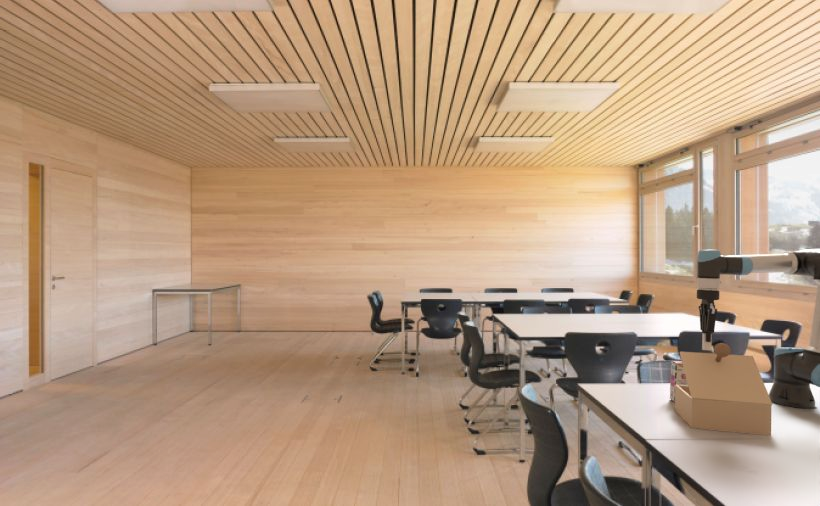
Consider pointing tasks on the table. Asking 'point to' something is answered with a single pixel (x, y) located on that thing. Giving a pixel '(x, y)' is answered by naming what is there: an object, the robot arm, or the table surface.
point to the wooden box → (722, 414)
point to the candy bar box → (677, 377)
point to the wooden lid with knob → (724, 377)
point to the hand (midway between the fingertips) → (706, 349)
